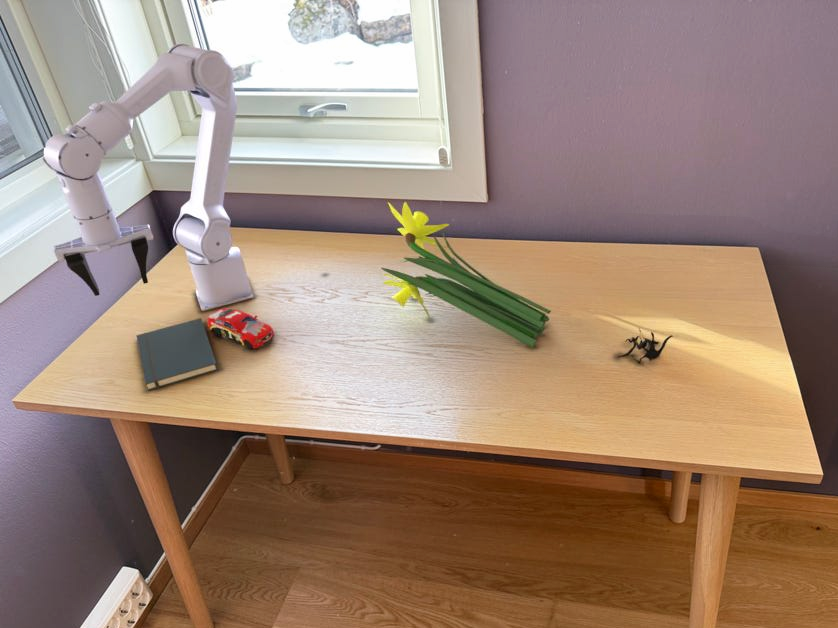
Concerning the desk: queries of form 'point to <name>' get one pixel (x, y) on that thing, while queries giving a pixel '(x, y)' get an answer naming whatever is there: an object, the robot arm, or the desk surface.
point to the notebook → (175, 354)
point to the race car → (240, 328)
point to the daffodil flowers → (484, 294)
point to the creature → (651, 352)
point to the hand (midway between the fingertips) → (121, 286)
